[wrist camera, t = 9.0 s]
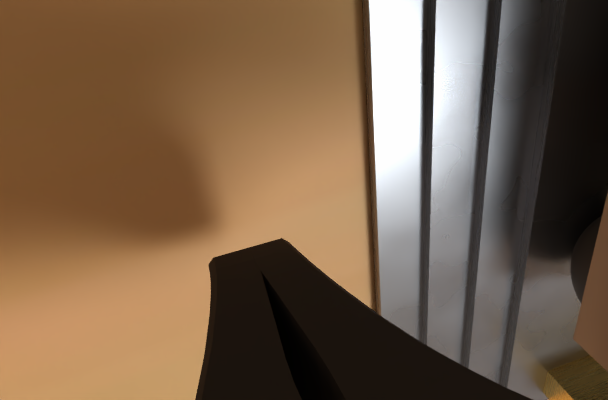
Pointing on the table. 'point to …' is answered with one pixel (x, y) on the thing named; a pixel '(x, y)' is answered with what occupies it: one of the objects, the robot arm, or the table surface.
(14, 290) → the table surface
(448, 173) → the plate
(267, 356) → the robot arm
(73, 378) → the table surface
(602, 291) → the square caster platform
